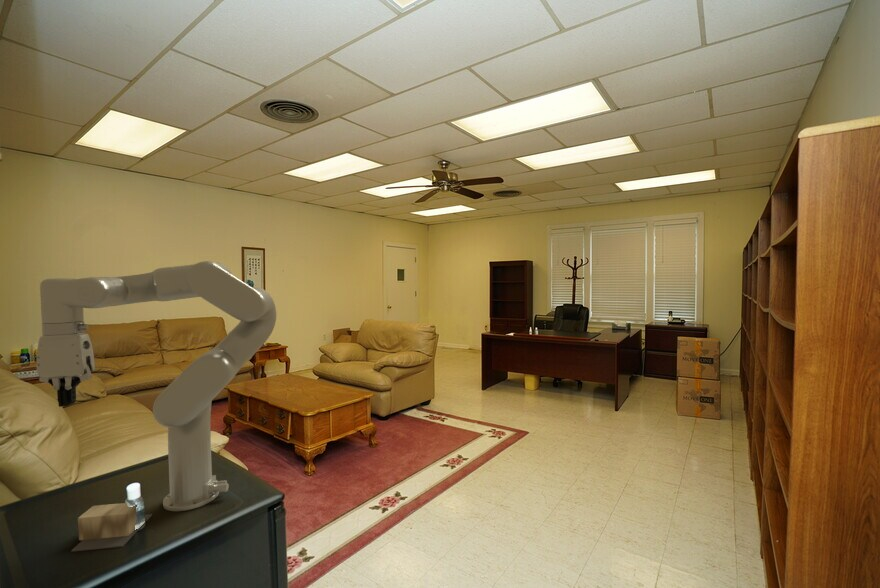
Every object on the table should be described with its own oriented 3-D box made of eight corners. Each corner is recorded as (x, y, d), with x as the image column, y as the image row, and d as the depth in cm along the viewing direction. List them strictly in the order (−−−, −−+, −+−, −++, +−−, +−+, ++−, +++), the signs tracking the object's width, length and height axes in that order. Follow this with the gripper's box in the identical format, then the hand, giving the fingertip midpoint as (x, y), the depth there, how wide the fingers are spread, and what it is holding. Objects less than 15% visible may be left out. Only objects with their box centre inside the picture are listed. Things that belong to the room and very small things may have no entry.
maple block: (93, 526, 96) (141, 522, 98) (78, 540, 91) (129, 535, 93) (92, 505, 96) (140, 501, 97) (77, 518, 91) (128, 513, 92)
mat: (152, 515, 101) (152, 514, 101) (122, 546, 89) (122, 545, 89) (107, 519, 100) (107, 517, 100) (71, 551, 88) (71, 550, 88)
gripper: (107, 326, 105) (111, 398, 106) (41, 328, 103) (44, 402, 104) (87, 330, 98) (90, 407, 99) (15, 332, 96) (19, 411, 96)
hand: (67, 404), depth 101 cm, fingers closed
